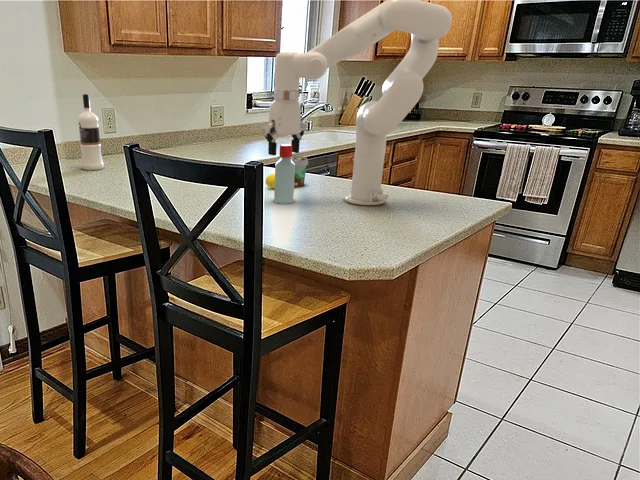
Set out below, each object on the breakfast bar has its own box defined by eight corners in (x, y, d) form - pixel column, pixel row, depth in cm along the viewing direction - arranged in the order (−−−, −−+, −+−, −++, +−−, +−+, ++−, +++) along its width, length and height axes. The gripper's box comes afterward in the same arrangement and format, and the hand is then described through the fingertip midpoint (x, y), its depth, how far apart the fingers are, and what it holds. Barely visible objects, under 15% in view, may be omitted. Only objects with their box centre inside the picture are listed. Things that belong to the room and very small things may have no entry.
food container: (305, 189, 193) (307, 161, 189) (288, 188, 194) (290, 160, 190) (308, 182, 204) (310, 156, 200) (292, 181, 205) (293, 155, 201)
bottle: (297, 202, 174) (300, 147, 167) (282, 204, 170) (285, 149, 163) (284, 198, 179) (286, 145, 171) (270, 200, 175) (271, 146, 168)
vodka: (105, 169, 224) (98, 94, 212) (83, 171, 220) (75, 94, 208) (102, 166, 231) (95, 93, 219) (80, 167, 228) (72, 93, 216)
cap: (285, 158, 166) (285, 146, 165) (277, 156, 169) (277, 144, 167) (294, 156, 168) (294, 145, 167) (286, 155, 171) (286, 144, 170)
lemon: (262, 187, 195) (262, 172, 192) (274, 186, 197) (274, 171, 195) (272, 191, 189) (272, 176, 187) (284, 189, 191) (285, 174, 189)
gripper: (298, 95, 169) (295, 150, 176) (256, 96, 159) (255, 154, 166) (315, 96, 163) (311, 153, 170) (272, 97, 154) (270, 157, 161)
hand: (283, 153), depth 168 cm, fingers open, 9 cm apart
